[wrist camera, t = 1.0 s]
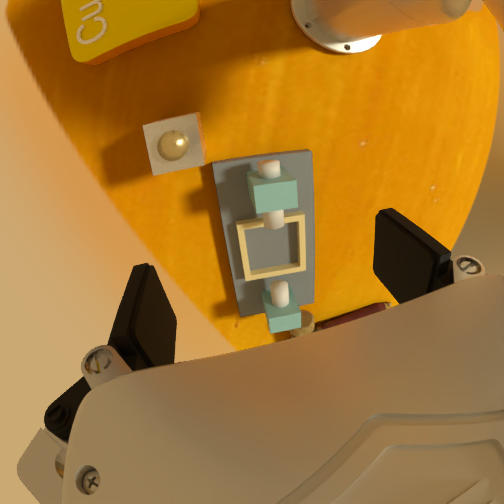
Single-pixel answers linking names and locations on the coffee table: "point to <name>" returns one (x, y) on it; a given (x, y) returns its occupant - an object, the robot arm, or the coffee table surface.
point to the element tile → (122, 25)
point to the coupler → (175, 143)
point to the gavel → (308, 319)
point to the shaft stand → (269, 233)
